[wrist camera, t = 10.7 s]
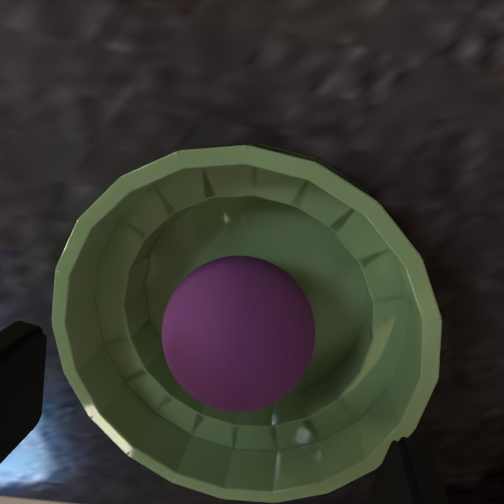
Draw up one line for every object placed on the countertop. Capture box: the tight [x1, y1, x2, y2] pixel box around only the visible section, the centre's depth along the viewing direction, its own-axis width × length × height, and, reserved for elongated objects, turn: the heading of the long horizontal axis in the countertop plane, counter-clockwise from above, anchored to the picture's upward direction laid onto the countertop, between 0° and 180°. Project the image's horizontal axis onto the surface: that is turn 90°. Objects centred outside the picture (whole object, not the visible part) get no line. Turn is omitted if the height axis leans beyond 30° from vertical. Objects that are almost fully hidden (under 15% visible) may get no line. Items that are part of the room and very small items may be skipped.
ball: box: [162, 255, 315, 412], centre depth 15 cm, size 6×6×6 cm
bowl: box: [52, 143, 442, 503], centre depth 16 cm, size 14×14×5 cm
